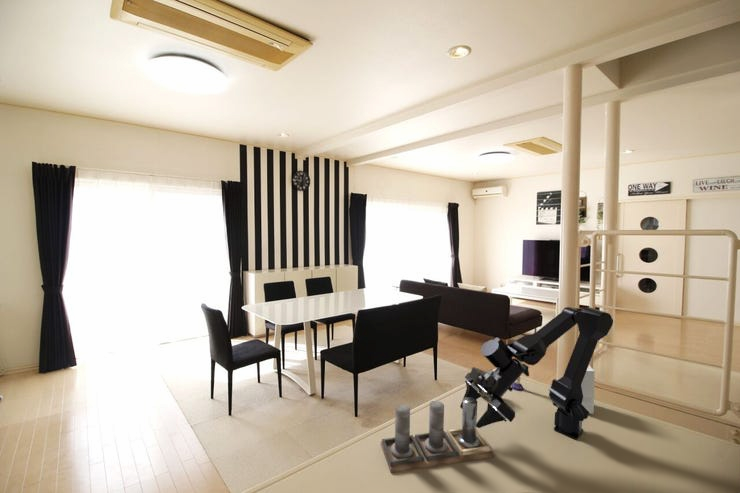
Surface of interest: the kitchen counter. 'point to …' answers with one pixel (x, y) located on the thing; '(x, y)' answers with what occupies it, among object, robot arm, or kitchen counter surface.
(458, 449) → the pin board
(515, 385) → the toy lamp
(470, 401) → the grey cylindrical piece
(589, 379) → the skincare box
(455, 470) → the kitchen counter surface
